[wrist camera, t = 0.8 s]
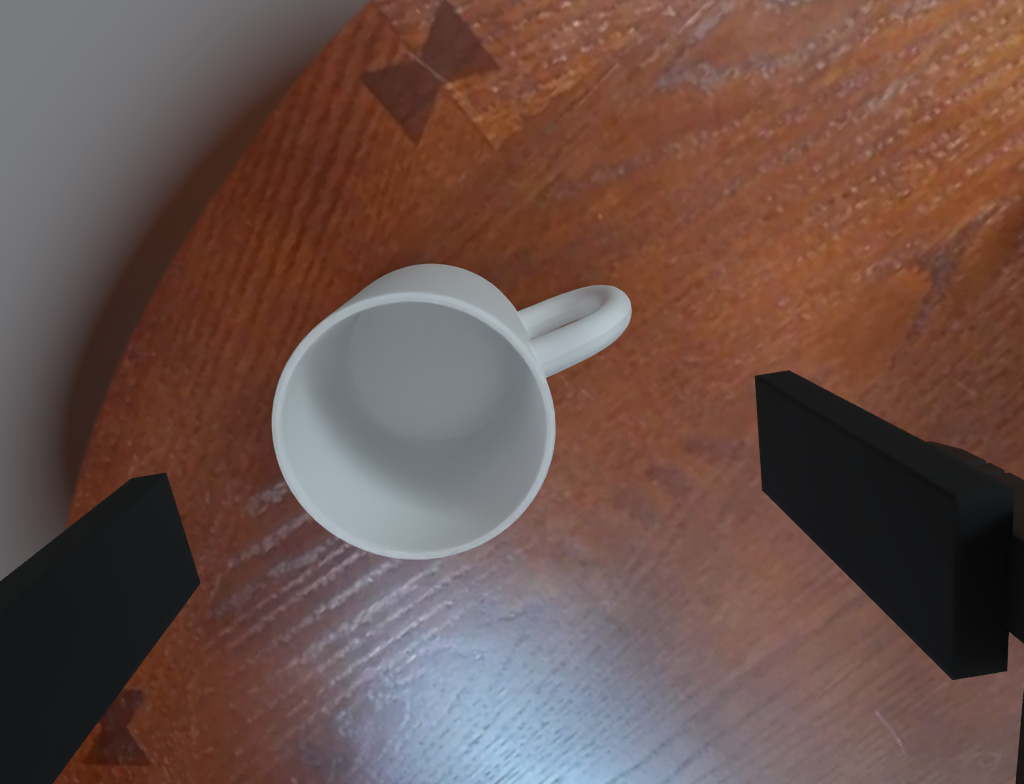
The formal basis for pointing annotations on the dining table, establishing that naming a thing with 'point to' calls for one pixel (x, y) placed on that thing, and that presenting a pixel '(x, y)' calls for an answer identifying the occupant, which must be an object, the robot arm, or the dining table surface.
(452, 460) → the cup
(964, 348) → the dining table surface
